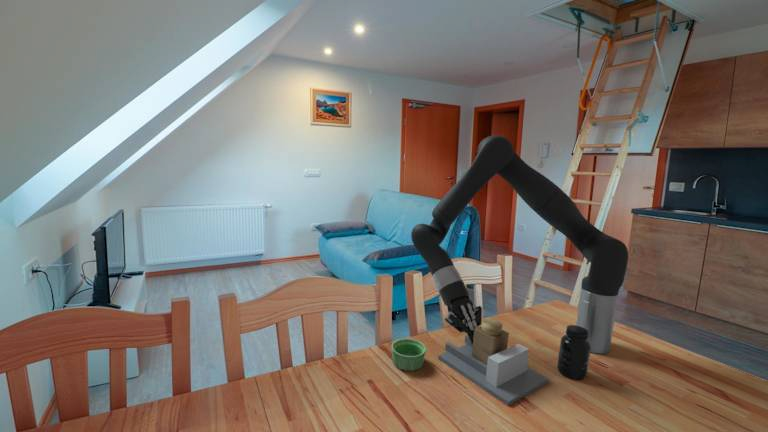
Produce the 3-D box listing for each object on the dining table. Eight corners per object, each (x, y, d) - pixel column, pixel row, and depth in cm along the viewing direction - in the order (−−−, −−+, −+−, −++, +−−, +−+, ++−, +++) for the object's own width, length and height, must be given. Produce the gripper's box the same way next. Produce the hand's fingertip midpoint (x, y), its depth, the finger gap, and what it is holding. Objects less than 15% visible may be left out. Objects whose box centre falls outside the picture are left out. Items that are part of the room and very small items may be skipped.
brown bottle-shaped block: (486, 354, 97) (490, 316, 96) (505, 365, 93) (509, 325, 91) (471, 361, 94) (474, 321, 92) (490, 372, 89) (494, 331, 87)
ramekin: (385, 367, 92) (386, 351, 92) (397, 350, 101) (398, 335, 100) (419, 376, 89) (420, 360, 88) (429, 358, 97) (430, 343, 96)
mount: (475, 341, 107) (477, 319, 106) (548, 382, 88) (551, 355, 87) (435, 356, 98) (437, 332, 97) (507, 405, 79) (510, 376, 78)
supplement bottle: (590, 382, 89) (597, 337, 87) (561, 378, 90) (566, 333, 88) (581, 367, 95) (587, 324, 94) (554, 363, 97) (559, 321, 95)
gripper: (440, 283, 97) (470, 347, 89) (474, 275, 104) (504, 334, 97) (425, 294, 102) (452, 355, 94) (458, 287, 110) (486, 342, 102)
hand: (478, 344), depth 96 cm, fingers closed
